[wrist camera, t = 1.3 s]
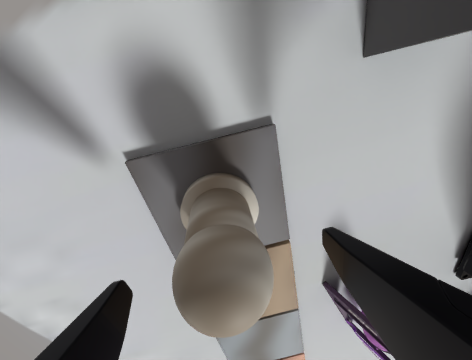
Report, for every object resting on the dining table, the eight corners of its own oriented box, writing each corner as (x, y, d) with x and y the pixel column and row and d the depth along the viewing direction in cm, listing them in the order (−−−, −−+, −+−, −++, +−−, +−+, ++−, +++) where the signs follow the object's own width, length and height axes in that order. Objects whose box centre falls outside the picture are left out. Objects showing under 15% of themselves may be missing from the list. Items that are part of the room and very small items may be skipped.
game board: (273, 123, 11) (275, 124, 10) (306, 379, 26) (307, 383, 25) (127, 160, 11) (124, 162, 10) (247, 394, 26) (247, 398, 25)
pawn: (248, 164, 11) (295, 256, 5) (261, 225, 13) (306, 348, 7) (171, 183, 11) (112, 303, 5) (195, 242, 13) (179, 380, 7)
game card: (403, 372, 11) (420, 408, 15) (451, 307, 12) (456, 356, 16) (316, 289, 17) (344, 329, 21) (352, 250, 18) (372, 295, 22)
